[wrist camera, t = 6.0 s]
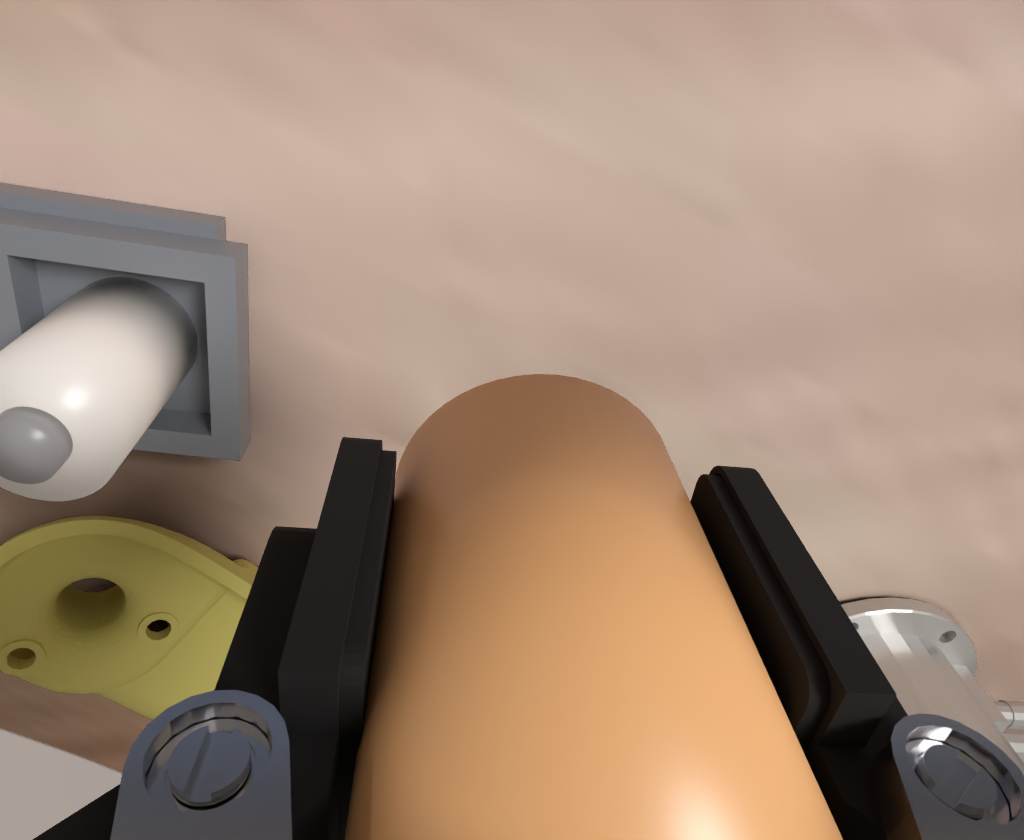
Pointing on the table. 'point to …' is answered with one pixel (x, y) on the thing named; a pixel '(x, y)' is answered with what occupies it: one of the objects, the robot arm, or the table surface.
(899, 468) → the table surface
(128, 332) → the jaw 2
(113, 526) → the plastic component
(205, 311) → the housing
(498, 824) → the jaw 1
